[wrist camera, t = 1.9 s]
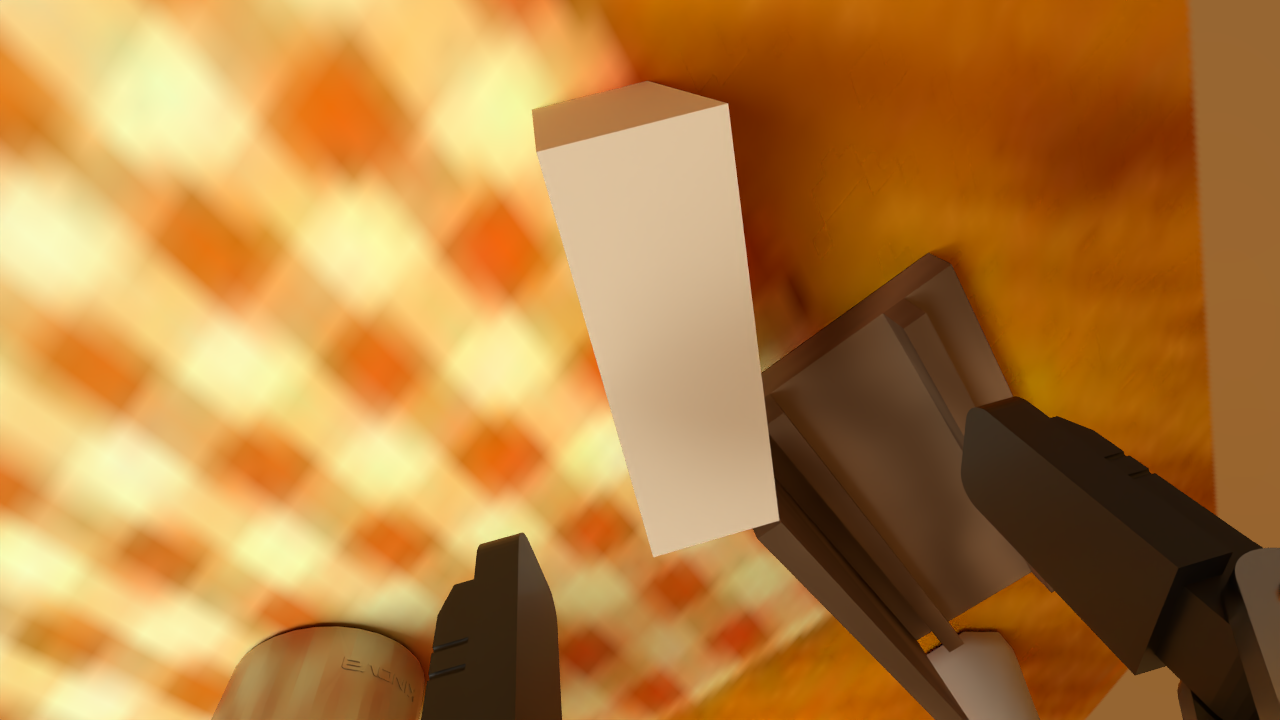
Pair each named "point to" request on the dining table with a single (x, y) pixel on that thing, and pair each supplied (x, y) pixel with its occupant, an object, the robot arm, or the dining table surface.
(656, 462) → the white rectangular block
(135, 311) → the dining table surface
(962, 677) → the flask
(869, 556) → the picture ledge
